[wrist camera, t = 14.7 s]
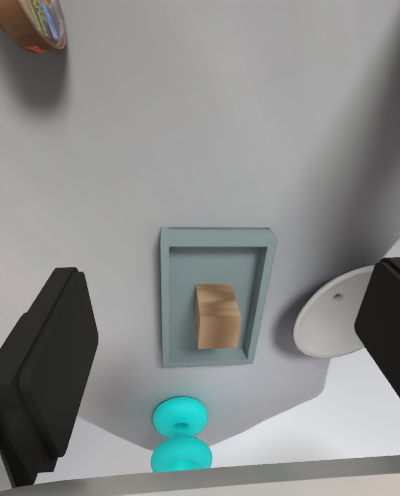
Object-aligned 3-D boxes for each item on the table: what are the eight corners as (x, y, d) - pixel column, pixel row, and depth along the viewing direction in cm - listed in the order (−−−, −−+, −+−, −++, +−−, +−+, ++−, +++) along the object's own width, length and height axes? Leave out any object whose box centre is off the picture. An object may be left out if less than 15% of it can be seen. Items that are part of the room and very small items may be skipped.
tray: (269, 228, 39) (276, 239, 36) (248, 348, 50) (252, 364, 47) (161, 227, 38) (160, 238, 35) (163, 350, 48) (162, 367, 46)
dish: (318, 347, 51) (332, 372, 47) (261, 308, 46) (270, 332, 42) (408, 278, 46) (434, 300, 41) (354, 225, 40) (376, 243, 36)
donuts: (212, 449, 46) (213, 481, 51) (205, 390, 54) (207, 422, 59) (146, 457, 45) (154, 488, 50) (150, 396, 54) (156, 428, 59)
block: (231, 284, 42) (241, 318, 36) (227, 311, 45) (236, 348, 39) (195, 284, 42) (200, 319, 36) (194, 311, 44) (198, 349, 38)
